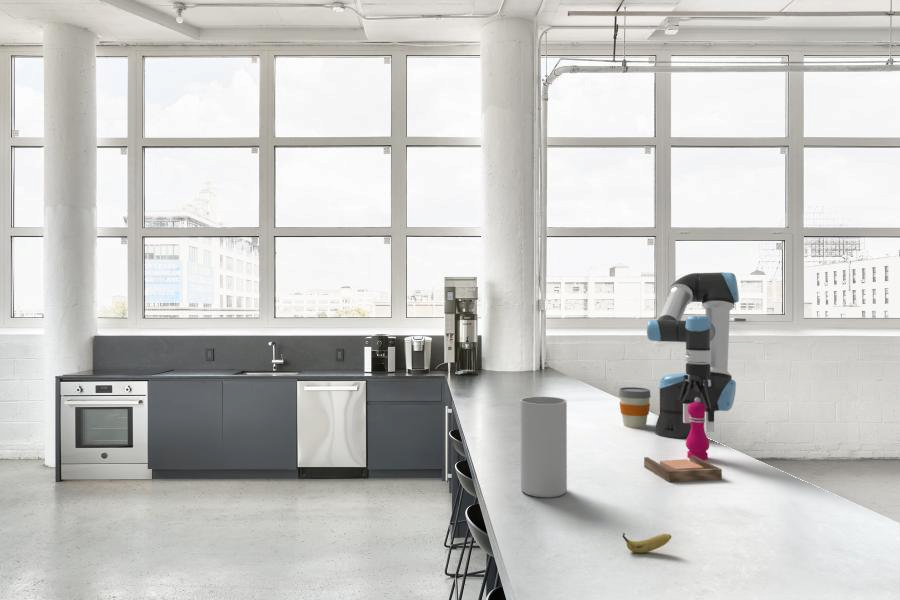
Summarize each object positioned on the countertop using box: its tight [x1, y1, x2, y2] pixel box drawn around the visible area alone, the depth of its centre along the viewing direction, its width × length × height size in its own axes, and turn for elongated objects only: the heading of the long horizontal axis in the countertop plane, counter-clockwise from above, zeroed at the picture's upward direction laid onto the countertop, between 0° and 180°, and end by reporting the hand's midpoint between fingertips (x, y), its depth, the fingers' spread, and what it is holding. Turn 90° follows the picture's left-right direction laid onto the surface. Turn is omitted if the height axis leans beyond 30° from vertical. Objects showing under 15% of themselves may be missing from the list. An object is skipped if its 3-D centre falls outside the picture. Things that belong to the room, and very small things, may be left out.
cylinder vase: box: [520, 396, 568, 499], centre depth 168 cm, size 12×12×25 cm
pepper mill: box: [685, 397, 710, 461], centre depth 201 cm, size 7×7×20 cm
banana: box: [621, 532, 672, 554], centre depth 127 cm, size 10×2×4 cm, turn 87°
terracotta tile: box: [659, 458, 704, 470], centre depth 185 cm, size 9×9×3 cm
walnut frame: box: [643, 455, 723, 483], centre depth 184 cm, size 16×16×3 cm
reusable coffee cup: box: [618, 386, 652, 429], centre depth 252 cm, size 13×13×15 cm
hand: (698, 427), depth 201 cm, fingers open, 13 cm apart
